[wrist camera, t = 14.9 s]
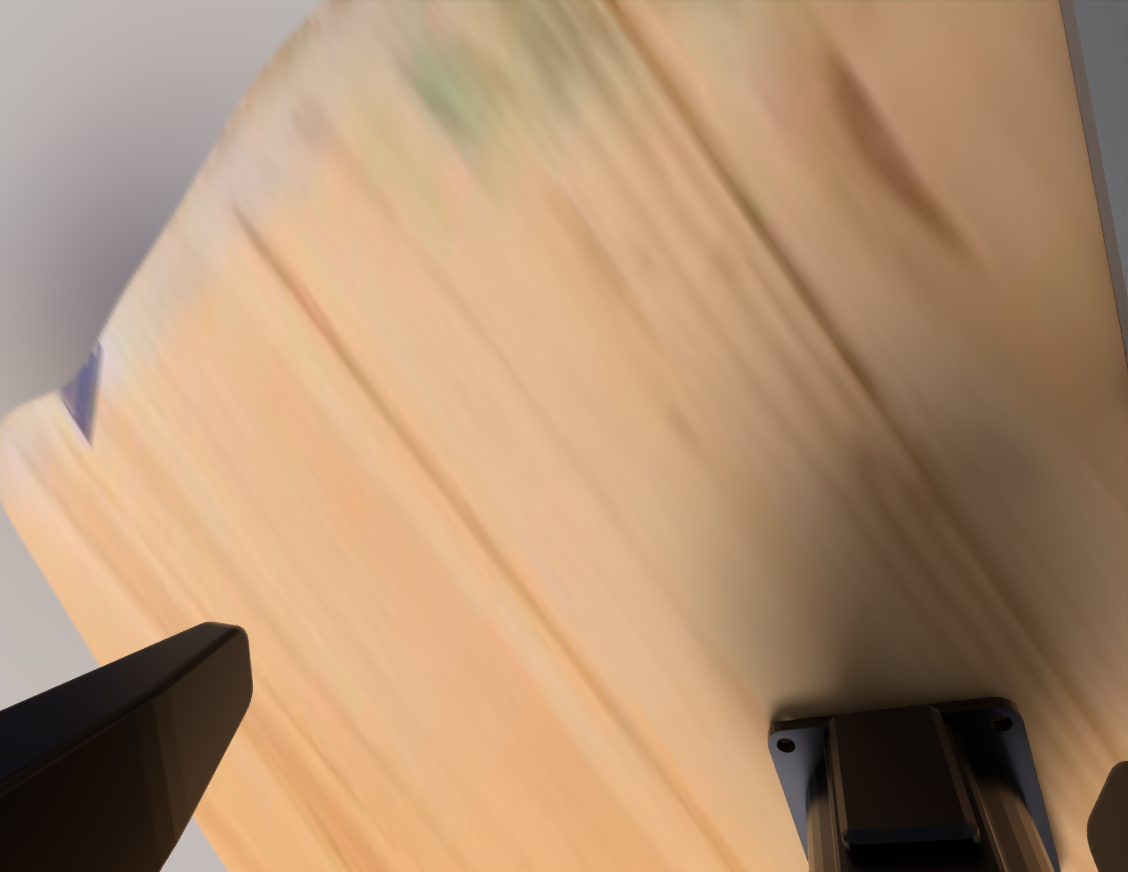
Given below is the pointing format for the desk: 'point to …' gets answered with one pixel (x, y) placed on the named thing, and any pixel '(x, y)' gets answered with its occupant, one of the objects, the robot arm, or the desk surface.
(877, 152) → the desk surface
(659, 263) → the desk surface
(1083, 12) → the collar base
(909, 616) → the desk surface
